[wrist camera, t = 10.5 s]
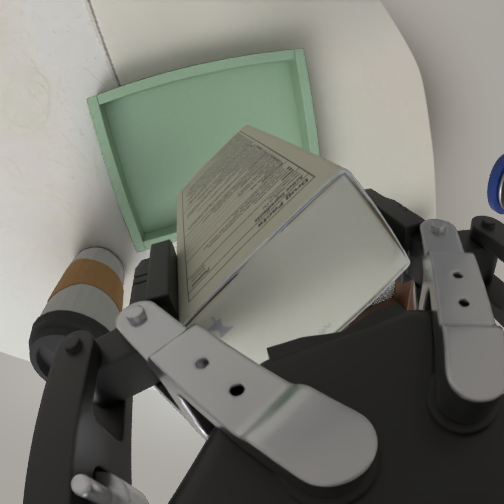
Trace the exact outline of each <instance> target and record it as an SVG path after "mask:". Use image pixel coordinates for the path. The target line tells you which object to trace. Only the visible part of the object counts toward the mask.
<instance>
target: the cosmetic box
mask: <svg viewBox="0 0 504 504" xmlns="http://www.w3.org/2000/svg"><path fill="white" fill-rule="evenodd" d="M409 265H410V259H409V257H408V256H407V254H406V252H405V251H404V249H403V248H402V246H401V244H400V242H399V241H398V239H397V237H396V236H395V234H394V233H393V231H392V229H391V228H390V226H389V225H388V223H387V222H386V220H385V219H384V217H383V216H382V214H381V213H380V211H379V210H378V208H377V207H376V205H375V204H374V202H373V201H372V200H371V198H370V197H369V196H368V194H367V193H366V192H365V190H364V189H363V187H362V186H361V185H360V184H359V182H358V181H357V180H356V178H355V177H354V176H353V174H352V173H351V172H350V171H349V170H347V169H345V168H343V167H341V166H339V165H336V164H334V163H332V162H330V161H328V160H326V159H324V158H322V157H320V156H318V155H316V154H313V153H311V152H309V151H307V150H305V149H303V148H301V147H298V146H296V145H294V144H292V143H290V142H287V141H285V140H283V139H280V138H278V137H276V136H274V135H271V134H269V133H267V132H264V131H262V130H259V129H257V128H255V127H252V126H250V125H245V126H244V127H243V128H242V129H241V130H240V131H238V132H237V133H236V134H235V135H234V136H233V137H232V138H231V139H230V140H229V141H228V142H227V143H226V144H225V145H224V146H223V147H222V148H221V149H220V150H219V151H218V152H217V153H216V154H215V155H214V156H213V157H212V158H211V159H210V160H209V161H208V162H207V163H206V164H205V165H204V166H203V167H202V168H201V169H200V170H199V171H198V172H197V174H196V175H195V176H194V177H193V178H192V179H191V180H190V181H189V182H188V183H187V185H186V186H185V187H184V188H183V189H182V190H181V191H180V193H179V194H178V196H177V279H178V314H179V322H180V323H181V324H183V325H184V326H185V327H187V328H189V327H190V326H191V325H193V324H198V325H200V326H202V327H203V328H205V329H206V330H207V331H209V332H210V333H212V334H213V335H215V336H216V337H218V338H219V339H221V340H222V341H224V342H225V343H227V344H228V345H230V346H231V347H233V348H234V349H236V350H238V351H239V352H241V353H242V354H244V355H245V356H247V357H248V358H250V359H252V360H253V361H255V362H256V363H258V364H261V363H262V362H264V361H266V360H268V359H269V357H268V353H267V348H268V347H271V346H275V345H278V344H281V343H285V342H288V341H291V340H294V339H297V338H301V337H306V336H314V335H322V334H329V333H336V332H341V331H342V330H343V329H344V328H345V327H346V326H347V325H348V324H349V323H351V322H352V321H353V320H354V319H355V318H356V317H357V316H358V315H359V314H361V312H363V311H364V310H365V309H366V308H367V307H368V306H369V305H370V304H371V303H372V302H373V301H374V300H376V299H377V298H378V296H379V295H380V294H381V293H383V292H384V291H385V290H386V289H387V288H388V287H389V286H390V285H391V284H392V283H393V282H394V281H395V280H396V279H397V278H398V277H399V276H400V275H401V274H402V273H403V272H404V270H406V269H407V267H408V266H409Z"/></svg>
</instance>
